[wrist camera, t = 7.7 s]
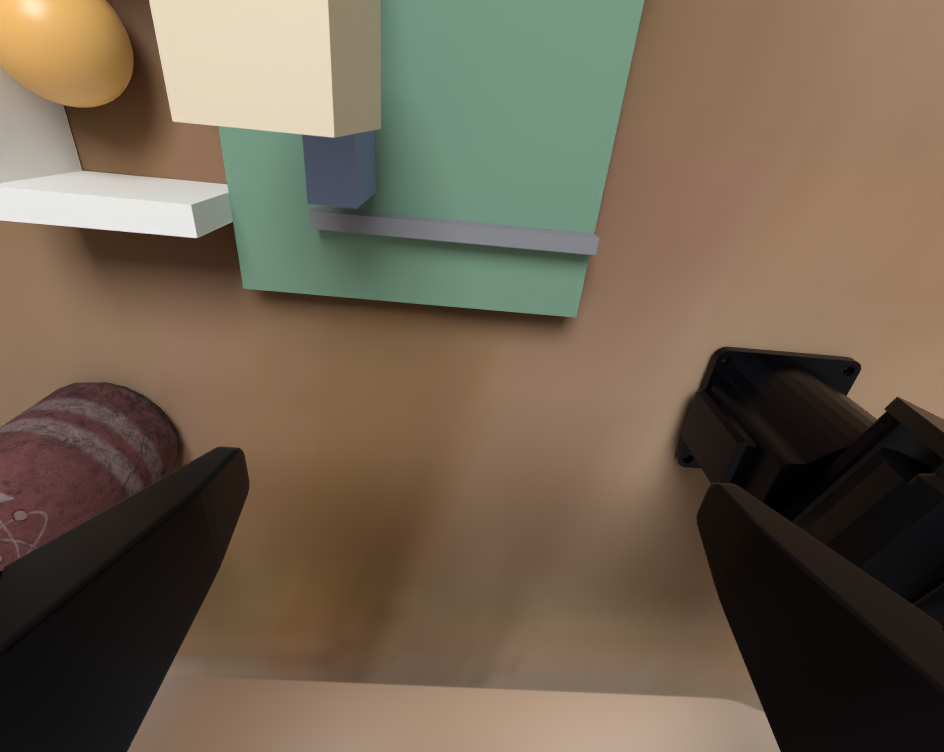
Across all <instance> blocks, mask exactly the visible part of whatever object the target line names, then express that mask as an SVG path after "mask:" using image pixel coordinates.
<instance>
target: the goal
mask: <svg viewBox="0 0 944 752" xmlns="http://www.w3.org/2000/svg"><path fill="white" fill-rule="evenodd" d="M0 220H3V221H14V222H25V223H36V224H47V225H58V226H69V227H80V228H91V229H102V230H113V231H124V232H135V233H146V234H157V235H168V236H179V237H190V238H199V237H201V236H203V235H205V234H208V233H210V232H212V231H214V230H216V229H218V228H221V227H223V226H225V225H227V224H229V223H232V222H233V218H232V212H231V205H230V199H229V192H228V186H227V184H217V183H206V182H196V181H186V180H175V179H165V178H154V177H144V176H133V175H123V174H113V173H102V172H92V171H82V167H81V164H80V160H79V157H78V154H77V150H76V147H75V143H74V140H73V136H72V133H71V129H70V126H69V123H68V119H67V116H66V112H65V109H64V105H62V104H58V103H55V102H52V101H50V100H47V99H44V98H42V97H40V96H38V95H36V94H35V93H33V92H31V91H29V90H28V89H26V88H25V87H23V86H22V85H20V84H19V83H18V82H16V81H15V80H14V79H13V78H12V77H10V76H9V75H8V74H7V73H6V72H5V71H4V70H3V69H2V68H1V67H0Z"/></svg>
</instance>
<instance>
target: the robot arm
mask: <svg viewBox="0 0 944 752" xmlns="http://www.w3.org/2000/svg"><path fill="white" fill-rule="evenodd" d="M726 356H729V359H728V360H727V361H725V362H722V360H723V359H724V358H725V357H726ZM847 367H848V368H847ZM845 368H847V369H846V370H845V371H843V370H844V369H845ZM860 370H861V365H860V364H859V363H858V362H857V361H855V360H854V359H852V358H849V357H841V356H829V355H818V354H806V353H794V352H783V351H771V350H759V349H748V348H736V347H723V348H720V349H718V350H717V351H716V352H715V353H714V355H713V357H712V359H711V362H710V364H709V367H708V370H707V372H706V375H705V378H704V380H703V383H702V385H701V388H700V390H699V391H698V392H697V393H696V395H695V398H694V400H693V403H692V405H691V408H690V411H689V413H688V416H687V419H686V421H685V424H684V426H683V429H682V432H681V437H682V438H681V440H680V443H679V445H678V448H677V451H676V453H675V458H676V460H677V461H678V463H679V465H681V466H683V467H691V468H702V470H703V471H704V473H705V474H706V476H707V478H708V479H709V481H710V482H711V485H710V486H709V488H708V490H707V492H706V494H705V497H704V499H703V501H702V503H701V506H700V508H699V510H698V513H697V525H698V529H699V532H700V536H701V539H702V543H703V546H704V550H705V553H706V556H707V560H708V563H709V567H710V570H711V574H712V577H713V581H714V584H715V587H716V590H717V594H718V597H719V600H720V602H721V605H722V608H723V610H724V613H725V615H726V618H727V620H728V623H729V625H730V628H731V630H732V633H733V635H734V638H735V640H736V642H737V645H738V647H739V650H740V652H741V655H742V657H743V660H744V662H745V665H746V667H747V670H748V672H749V675H750V677H751V680H752V682H753V685H754V687H755V689H756V692H757V694H758V697H759V699H760V702H761V704H762V707H763V709H764V712H765V714H766V717H767V719H768V721H769V724H770V727H771V729H772V731H773V734H774V736H775V739H776V741H777V744H778V746H779V749H780V751H781V752H944V419H942V418H940V417H938V416H936V415H934V414H932V413H930V412H928V411H926V410H924V409H922V408H920V407H918V406H916V405H914V404H912V403H910V402H908V401H906V400H904V399H902V398H899V397H896V398H895V399H894V400H893V401H892V402H891V403H890V404H889V405H888V406H887V407H886V408H885V410H886V412H885V413H884V414H883V415H882V416H881V417H880V418H879V419H878V420H877V419H876V418H875V417H873V416H872V415H871V414H869V413H868V412H867V411H865V410H864V409H863V408H862V407H860V406H859V405H858V404H856V403H855V402H854V401H852V400H851V399H850V398H848V397H847V394H848V392H849V390H850V389H851V387H852V385H853V383H854V381H855V380H856V378H857V376H858V374H859V373H860ZM687 455H689V457H687V458H684V457H685V456H687ZM248 491H249V477H248V471H247V466H246V460H245V455H244V452H243V451H242V450H241V449H240V448H234V447H217V448H215V449H213V450H211V451H209V452H208V453H206V454H204V455H202V456H201V457H199V458H197V459H195V460H193V461H192V462H190V463H188V464H186V465H185V466H183V467H181V468H179V469H177V470H176V471H174V472H172V473H170V474H168V475H167V476H165V477H163V478H161V479H160V480H158V481H156V482H154V483H152V484H151V485H149V486H147V487H145V488H144V489H142V490H140V491H138V492H136V493H135V494H133V495H131V496H129V497H127V498H126V499H124V500H122V501H120V502H119V503H117V504H115V505H113V506H111V507H110V508H108V509H106V510H104V511H103V512H101V513H99V514H97V515H95V516H94V517H92V518H90V519H88V520H86V521H85V522H83V523H81V524H79V525H78V526H76V527H74V528H72V529H70V530H69V531H67V532H65V533H63V534H61V535H60V536H58V537H56V538H54V539H53V540H51V541H49V542H47V543H45V544H44V545H42V546H40V547H38V548H36V549H35V550H33V551H31V552H29V553H28V554H26V555H24V556H22V557H20V558H19V559H17V560H15V561H13V562H11V563H10V564H8V565H6V566H5V567H4V568H3V571H2V570H0V752H127V751H128V749H129V747H130V745H131V743H132V741H133V739H134V737H135V735H136V733H137V731H138V729H139V727H140V725H141V723H142V721H143V719H144V717H145V715H146V713H147V711H148V709H149V708H150V706H151V704H152V701H153V700H154V698H155V696H156V694H157V692H158V690H159V688H160V686H161V684H162V682H163V680H164V678H165V676H166V674H167V672H168V670H169V668H170V666H171V664H172V662H173V660H174V658H175V656H176V654H177V652H178V650H179V648H180V646H181V644H182V642H183V640H184V638H185V636H186V634H187V632H188V630H189V628H190V627H191V625H192V623H193V621H194V619H195V617H196V615H197V613H198V611H199V609H200V607H201V605H202V603H203V601H204V599H205V597H206V595H207V593H208V591H209V589H210V587H211V585H212V583H213V581H214V579H215V577H216V575H217V573H218V571H219V568H220V566H221V564H222V561H223V559H224V556H225V553H226V551H227V548H228V545H229V543H230V540H231V537H232V535H233V532H234V529H235V527H236V524H237V521H238V519H239V516H240V513H241V511H242V508H243V505H244V503H245V500H246V497H247V495H248Z"/></svg>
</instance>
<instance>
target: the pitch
mask: <svg viewBox="0 0 944 752" xmlns="http://www.w3.org/2000/svg"><path fill="white" fill-rule="evenodd" d="M643 5H644V0H381V129H378V130H375V158H376V193H375V194H374V195H373V196H371V197H370V198H369V199H368V200H367V201H365V202H364V203H363V204H362V205H361V206H359V207H358V208H357V209H355V208H345V207H334V206H324V205H313V204H307V190H306V177H305V164H304V151H303V138H302V134H293V133H283V132H273V131H263V130H253V129H243V128H234V127H224V126H218V127H219V133H220V140H221V146H222V153H223V159H224V166H225V172H226V179H227V186H228V192H229V199H230V205H231V212H232V218H233V225H234V231H235V238H236V244H237V251H238V257H239V264H240V271H241V277H242V284H243V289H254V290H266V291H277V292H289V293H300V294H312V295H323V296H334V297H346V298H357V299H369V300H380V301H392V302H403V303H415V304H426V305H438V306H449V307H461V308H472V309H484V310H495V311H507V312H518V313H530V314H541V315H553V316H564V317H577V312H578V308H579V303H580V298H581V294H582V289H583V284H584V280H585V275H586V270H587V266H588V261H589V256H590V255H596V253H597V248H598V243H599V239H600V238H599V237H598V236H597V235H596V234H595V228H596V224H597V219H598V214H599V210H600V205H601V200H602V196H603V191H604V186H605V182H606V177H607V172H608V168H609V163H610V158H611V154H612V149H613V144H614V140H615V135H616V130H617V126H618V121H619V117H620V112H621V107H622V103H623V98H624V93H625V89H626V84H627V79H628V75H629V70H630V65H631V61H632V56H633V51H634V47H635V42H636V37H637V33H638V28H639V23H640V19H641V14H642V9H643Z"/></svg>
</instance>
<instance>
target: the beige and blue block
mask: <svg viewBox="0 0 944 752" xmlns="http://www.w3.org/2000/svg"><path fill="white" fill-rule="evenodd" d="M149 2H150V7H151V13H152V18H153V23H154V28H155V33H156V38H157V43H158V49H159V54H160V59H161V64H162V69H163V74H164V80H165V85H166V90H167V95H168V100H169V105H170V110H171V116H172V121H174V122H184V123H194V124H204V125H214V126H224V127H234V128H243V129H253V130H263V131H273V132H283V133H293V134H302V138H303V151H304V164H305V177H306V190H307V204H313V205H324V206H334V207H345V208H355V209H357V208H358V207H359V206H361V205H362V204H363V203H364V202H365V201H367V200H368V199H369V198H370V197H371V196H373V195H374V194H375V193H376V158H375V130H378V129H381V0H149Z"/></svg>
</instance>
